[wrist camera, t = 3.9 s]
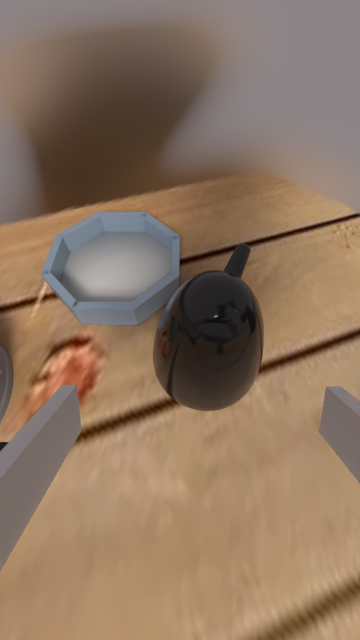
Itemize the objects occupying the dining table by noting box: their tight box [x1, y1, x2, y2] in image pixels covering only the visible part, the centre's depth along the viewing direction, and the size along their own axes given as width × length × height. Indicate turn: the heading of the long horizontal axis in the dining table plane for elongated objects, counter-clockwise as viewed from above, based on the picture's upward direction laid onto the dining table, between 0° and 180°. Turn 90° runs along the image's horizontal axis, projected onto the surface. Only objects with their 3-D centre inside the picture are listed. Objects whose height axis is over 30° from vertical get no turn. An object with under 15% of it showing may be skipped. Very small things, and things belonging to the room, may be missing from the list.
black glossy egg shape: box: [153, 244, 264, 411], centre depth 22 cm, size 10×10×15 cm
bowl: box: [41, 212, 180, 325], centre depth 34 cm, size 17×17×4 cm
